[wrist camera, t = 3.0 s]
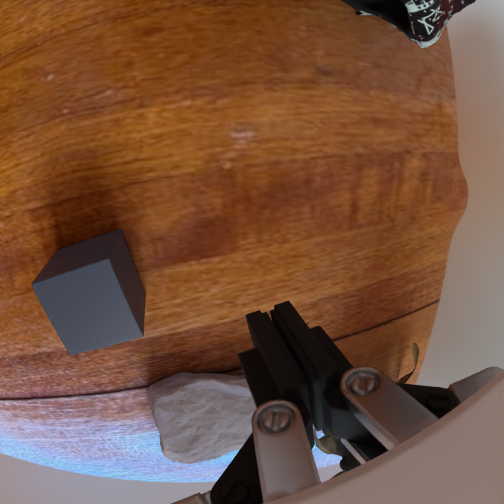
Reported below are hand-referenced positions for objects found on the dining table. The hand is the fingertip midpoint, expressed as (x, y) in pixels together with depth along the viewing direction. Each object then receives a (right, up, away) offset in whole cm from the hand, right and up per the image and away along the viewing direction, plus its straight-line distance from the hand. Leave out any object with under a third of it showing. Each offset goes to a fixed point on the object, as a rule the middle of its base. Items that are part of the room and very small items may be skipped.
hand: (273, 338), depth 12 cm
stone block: (-4, -10, +15) cm, 19 cm away
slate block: (-11, +2, +8) cm, 14 cm away
